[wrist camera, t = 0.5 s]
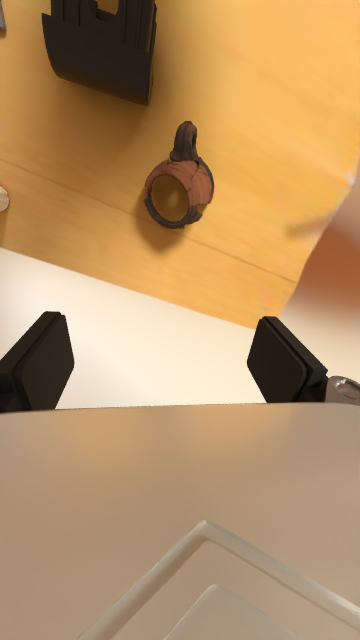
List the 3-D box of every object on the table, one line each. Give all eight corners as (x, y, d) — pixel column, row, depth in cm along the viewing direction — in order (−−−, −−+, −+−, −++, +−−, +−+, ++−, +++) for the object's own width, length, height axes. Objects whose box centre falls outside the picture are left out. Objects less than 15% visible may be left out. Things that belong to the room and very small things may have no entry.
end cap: (66, 88, 27) (42, 60, 21) (65, -1, 24) (36, -64, 18) (149, 115, 29) (148, 96, 23) (158, 36, 26) (160, -10, 20)
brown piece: (215, 218, 36) (199, 239, 31) (162, 210, 39) (139, 229, 33) (226, 119, 28) (208, 124, 22) (158, 117, 30) (126, 121, 25)
